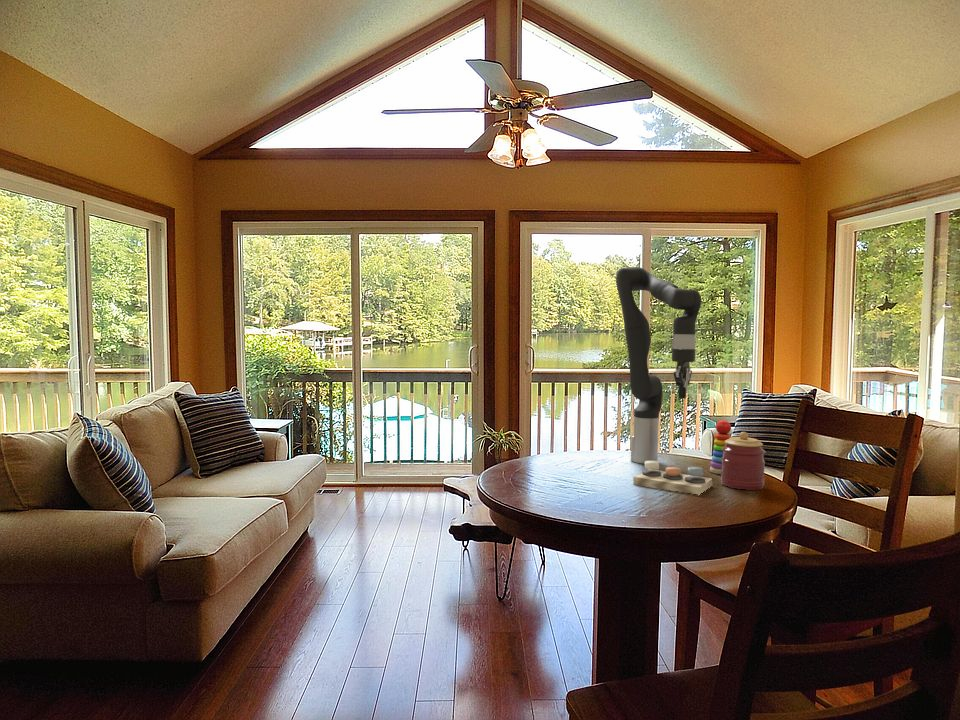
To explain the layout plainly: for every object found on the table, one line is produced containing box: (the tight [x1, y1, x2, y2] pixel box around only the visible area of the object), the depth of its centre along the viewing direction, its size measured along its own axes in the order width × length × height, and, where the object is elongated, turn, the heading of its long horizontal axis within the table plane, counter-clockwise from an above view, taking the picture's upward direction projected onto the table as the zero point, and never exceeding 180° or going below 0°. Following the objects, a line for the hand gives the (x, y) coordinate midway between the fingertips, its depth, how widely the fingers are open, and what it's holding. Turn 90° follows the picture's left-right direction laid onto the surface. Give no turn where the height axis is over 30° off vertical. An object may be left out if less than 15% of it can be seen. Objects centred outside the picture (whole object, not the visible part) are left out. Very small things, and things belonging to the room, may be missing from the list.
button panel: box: [632, 469, 713, 496], centre depth 190 cm, size 21×14×3 cm, turn 54°
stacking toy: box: [709, 419, 732, 475], centre depth 208 cm, size 8×8×19 cm
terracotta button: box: [665, 466, 682, 476], centre depth 189 cm, size 5×5×2 cm
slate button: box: [686, 466, 704, 477], centre depth 185 cm, size 5×5×2 cm
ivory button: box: [644, 461, 660, 471], centre depth 194 cm, size 5×5×2 cm
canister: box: [720, 431, 766, 491], centre depth 190 cm, size 13×13×18 cm
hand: (682, 398), depth 201 cm, fingers closed
